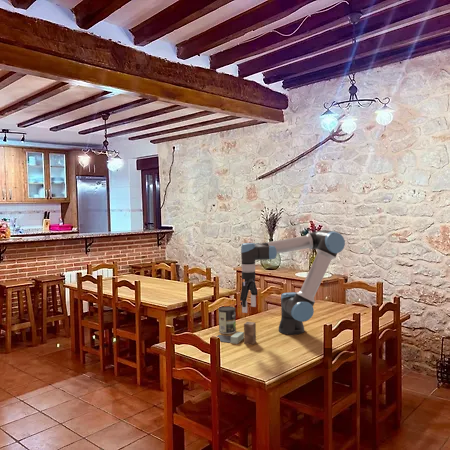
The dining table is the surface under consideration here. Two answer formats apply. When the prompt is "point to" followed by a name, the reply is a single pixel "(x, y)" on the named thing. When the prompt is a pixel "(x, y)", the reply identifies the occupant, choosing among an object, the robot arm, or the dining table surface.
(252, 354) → the dining table surface
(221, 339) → the rubber mat
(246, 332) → the walnut block
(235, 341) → the sage ledge
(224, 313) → the coffee can
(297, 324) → the robot arm
